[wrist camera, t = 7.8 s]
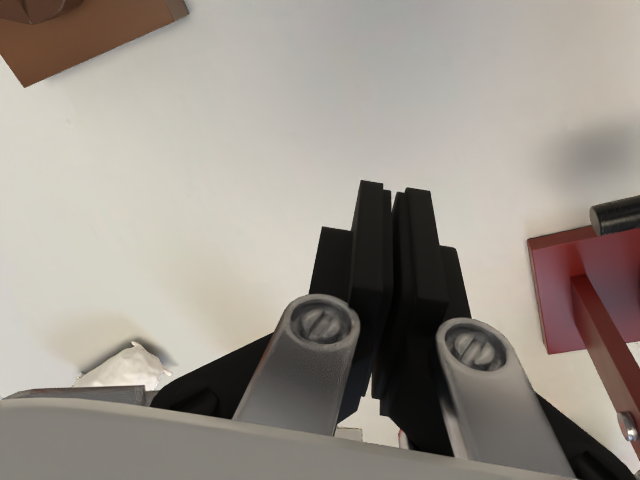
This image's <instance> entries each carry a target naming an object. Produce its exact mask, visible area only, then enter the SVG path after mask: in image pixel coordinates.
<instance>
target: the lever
mask: <svg viewBox="0 0 640 480" xmlns="http://www.w3.org/2000/svg"><path fill="white" fill-rule="evenodd" d="M590 220H591V224H592V227H593V229H594V231H595V233H596V234H597V235H598V236H604V235H609V234H614V233H619V232H623V231H628V230H633V229H637V228H640V195H638V196H634V197H630V198H625V199H621V200H617V201H612V202H608V203H604V204H599V205H595V206H592V207H591V208H590Z"/></svg>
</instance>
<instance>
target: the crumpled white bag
mask: <svg viewBox="0 0 640 480" xmlns="http://www.w3.org/2000/svg"><path fill="white" fill-rule="evenodd" d="M131 343H132V344H133V345H134V347H132V348H127V349H124V350H122V351H121V352H119V353H118V354H117V355H115V356H113V357H111V358H109V359H108V360H107V361H105V362H104V363H103V364H101V365H100V366H98V367H97V368H95V369H94V370H92V371H90V372H88V373H87V374H86V375H84V374H83V373H82V372H80V375H81V377H79V376H78V377H77V380H78V381H77V382H76V383H75V384H74V385H73V386H72V387H71V388H73V387H102V386H130V385H145V389H146V391H152V390H153V389H155V388H156V386H157V385H158V383H159V381H160V378H161V375H162V373H165V374H167V375H169V376H171V375H172V372H170V371H169V370H167V368H166V367H165V366H164V365H162V364H161V363H160V360H159V358H158V357H156V356H154V355H152V354H150V353H148V352H147V351H146V350H145V349H144V348H143V347H142V346H141V345H140V344H139V343H136V342H134V341H132V342H131Z"/></svg>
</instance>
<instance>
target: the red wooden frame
mask: <svg viewBox="0 0 640 480" xmlns="http://www.w3.org/2000/svg"><path fill="white" fill-rule="evenodd" d="M527 244H528V250H529V256H530V262H531V268H532V274H533V280H534V286H535V293H536V299H537V305H538V311H539V317H540V323H541V329H542V335H543V341H544V345H545V348H546V350H547V353H548V355H550V354H557V353H563V352H570V351H577V350H583V349H587V351H588V353H589V355H590V357H591V359H592V361H593V363H594V365H595V367H596V370H597V372H598V374H599V376H600V378H601V380H602V382H603V384H604V387H605V389H606V391H607V393H608V395H609V397H610V399H611V401H612V404H613V406H614V408H615V410H616V412H617V418H618V423H619V426H620V429H621V431H622V434H623V436H624V437H625V439H626V440H627V441H630V442H631V444H632V446H633V448H634V450H635V452H636V454H637V457H638V459H639V461H640V368H639V366H638V364H637V363H636V361H635V359H634V357H633V355H632V354H631V352H630V350H629V348H628V347H627V345H626V343H630V342H637V341H640V228H637V229H633V230H628V231H623V232H619V233H614V234H609V235H604V236H598V235H597V234H596V233H595V231H594V229H593V227H592V226H588V227H583V228H579V229H574V230H570V231H565V232H561V233H556V234H552V235H547V236H543V237H538V238H533V239H529V240H527Z"/></svg>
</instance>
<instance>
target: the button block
mask: <svg viewBox="0 0 640 480" xmlns="http://www.w3.org/2000/svg"><path fill="white" fill-rule="evenodd" d="M188 14H189V12H188V10H187V8H186V5H185V3H184V1H183V0H0V55H1V56H2V57H3V59H4V60H5V62H6V63H7V64H8V66H9V67H10V69H11V70H12V71H13V73H14V74H15V76H16V77H17V78H18V80H19V81H20V83H21V84H22V85H23V87H24V88H26V87H28V86H30V85H32V84H35V83H37V82H39V81H42V80H44V79H46V78H48V77H51V76H53V75H55V74H57V73H60V72H62V71H64V70H66V69H69V68H71V67H73V66H75V65H78V64H80V63H82V62H84V61H87V60H89V59H91V58H93V57H96V56H98V55H100V54H102V53H105V52H107V51H109V50H111V49H114V48H116V47H118V46H120V45H123V44H125V43H127V42H129V41H132V40H134V39H136V38H138V37H141V36H143V35H145V34H147V33H150V32H152V31H154V30H156V29H159V28H161V27H163V26H165V25H168V24H170V23H172V22H174V21H176V20H178V19H180V18H182V17H184V16H186V15H188Z"/></svg>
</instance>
